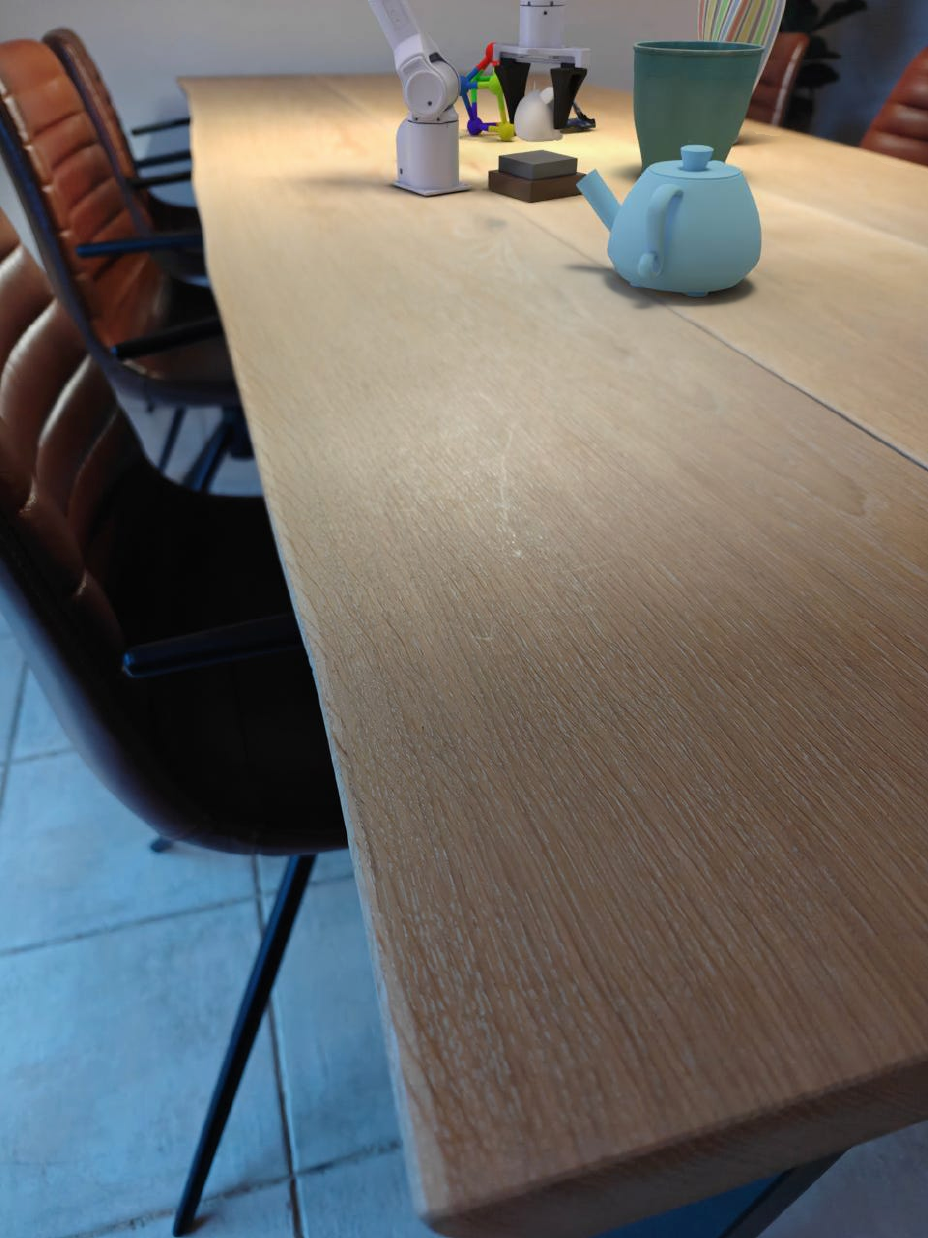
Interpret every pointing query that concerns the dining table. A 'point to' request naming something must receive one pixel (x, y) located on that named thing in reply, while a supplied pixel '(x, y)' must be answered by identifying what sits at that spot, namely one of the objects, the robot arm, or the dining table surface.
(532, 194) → the stack
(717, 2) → the vase
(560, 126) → the robot arm
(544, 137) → the figurine
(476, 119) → the educational toy
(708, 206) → the teapot
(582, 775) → the dining table surface
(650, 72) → the flower pot
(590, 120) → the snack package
